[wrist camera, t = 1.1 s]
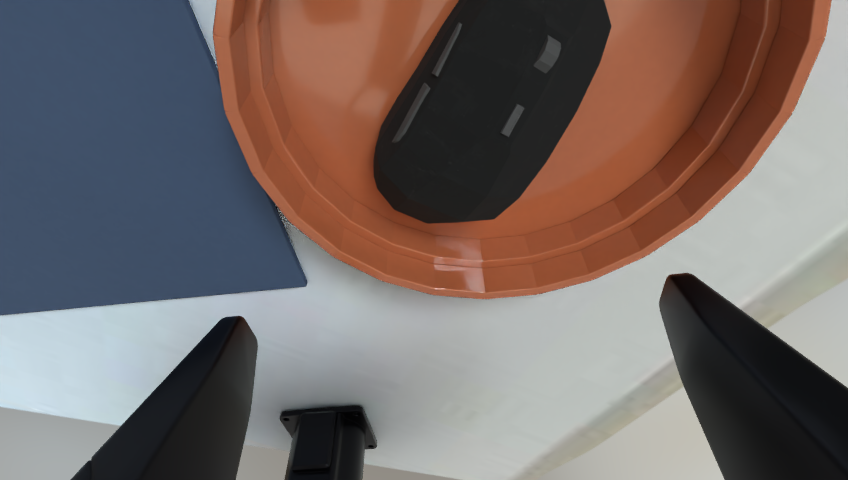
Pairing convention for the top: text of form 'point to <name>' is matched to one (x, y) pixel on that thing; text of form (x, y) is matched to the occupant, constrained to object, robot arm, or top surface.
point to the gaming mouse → (487, 106)
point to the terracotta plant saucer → (567, 165)
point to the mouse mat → (123, 163)
